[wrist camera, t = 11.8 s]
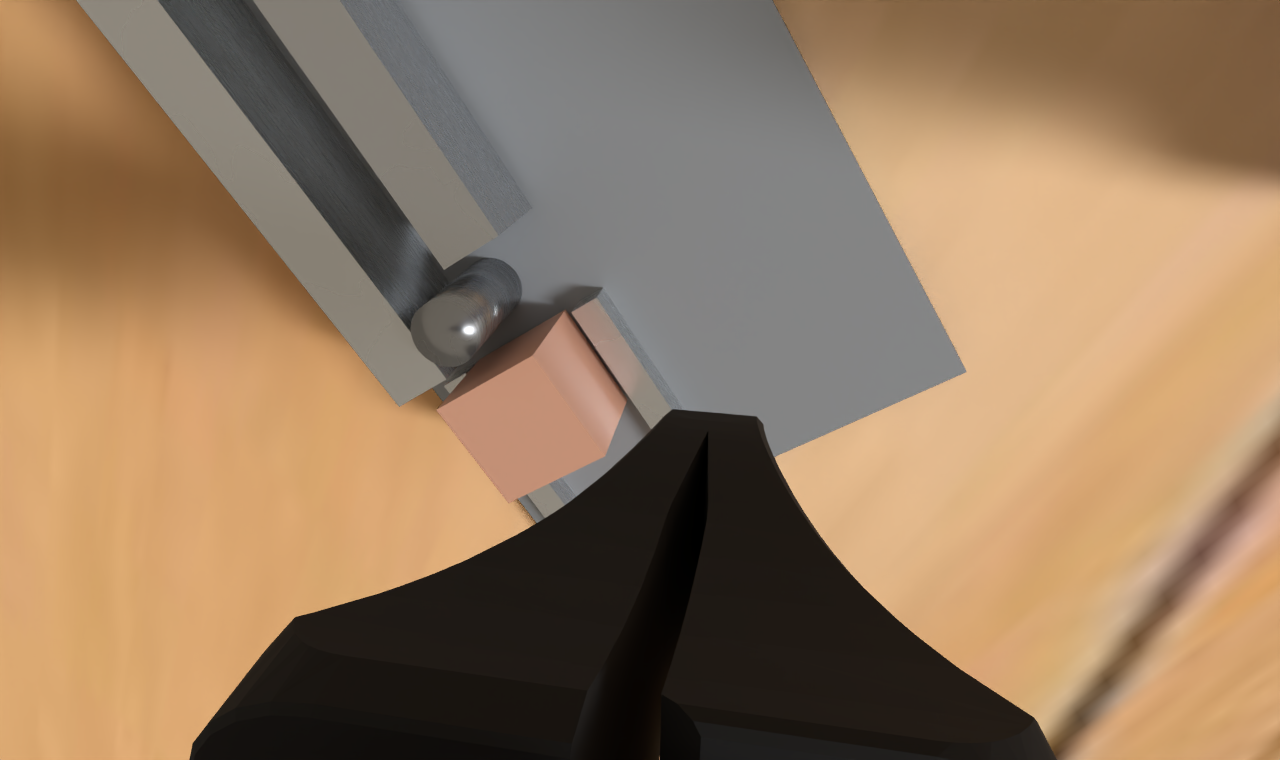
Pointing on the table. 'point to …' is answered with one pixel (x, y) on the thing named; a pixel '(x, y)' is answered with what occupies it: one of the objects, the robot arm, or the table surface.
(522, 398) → the tab
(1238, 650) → the table surface
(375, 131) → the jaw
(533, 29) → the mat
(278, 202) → the base
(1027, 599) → the table surface
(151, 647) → the table surface
